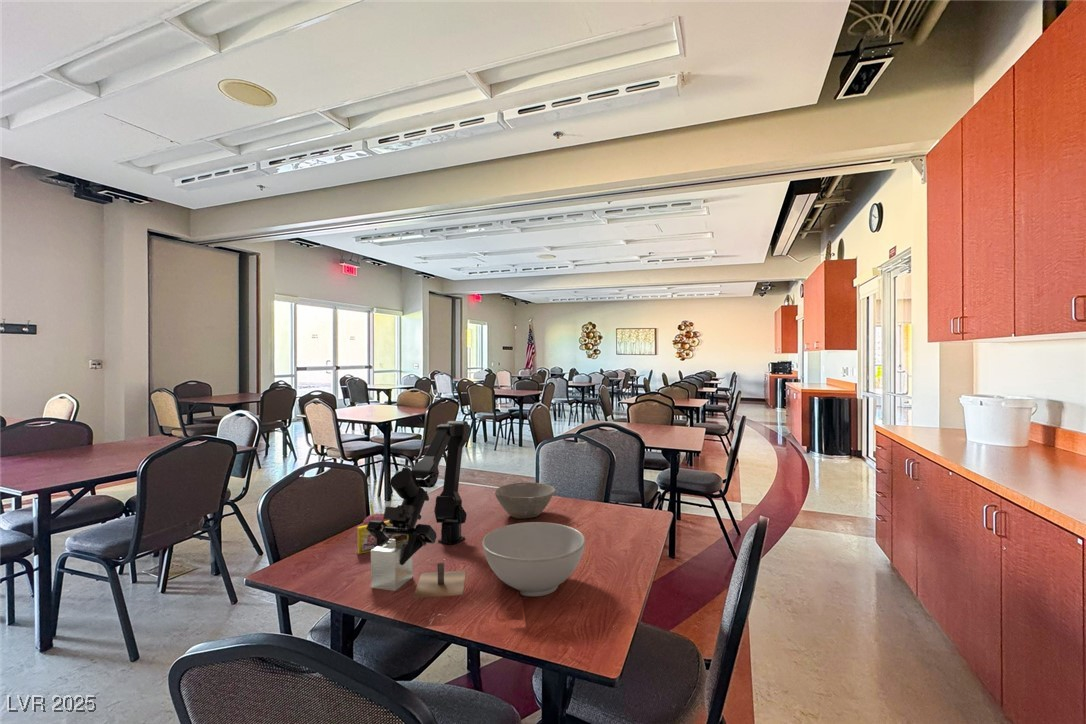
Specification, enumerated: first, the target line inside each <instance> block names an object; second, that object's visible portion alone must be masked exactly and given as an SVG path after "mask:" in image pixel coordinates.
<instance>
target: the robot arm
mask: <svg viewBox="0 0 1086 724" xmlns="http://www.w3.org/2000/svg"><path fill="white" fill-rule="evenodd" d="M446 422H447V423H440V424H438V425H437V426H436V429H435V433H434V436H433V438H432V440H431V442H430V444H429V446H428V448H427V450H426V452H425V454H424V456H423V457H422V459H420V460H419V461H417V462H416V463H415V464H414V466H413V467H412V469H411V468H410V467H402V468H401V471H398V472H396V473H395V474H394V475H392V477H391V478H390V482H389V483H390V486H391V488H392V489H393V490H394V491H395V492H396V494H397V495H398V496H399V498H401V499H403V500H402V502H401V504H400V505H399V504H398V505H397V506H385V508H384V513H383V514H384V517H383V519H389V523H390V524H393V526H387V525H386V524H385V523H384V521H378V520H372V521H370V522H369V523H368V525H367V527H366V529H367V530H368V531H369V532H370V533H371V534H372V535H373V536H374V537H375V538H376V539H377V546H378V545H380V544H381V543H383V542H385V541H386V540H388V538H387V537H388V536H389V534H397V535H407V536H408V543H407V546H406V548H405V551H404V553H403V556H402V559H401V562H400V564H401V565H404V564H405V562H406V561H407V560H408V559H409V558H410V557H411V556H412V557H413V556H414V554H416V552H417V551H419V550H420V549H421V548H422V547H424V546H427V544H432V545H433V544H435V543H436V540H437V532H436V531H435V529H434V528H433V527H432V526H431V525H430V524H426V523H425V524H422V523H418V524H417V522H418V520H421V519H422V515H421V512H422V509H423V507H424V504H425V502H429V501H430V497H429V495H428V491H427V490H425V489H424V488H426V489H427V488H428V489H430V488H434V487H435V485H436V484H437V482H438V479H439V475H440V472H439V465H440V462H441V459H442V458H443V455H444V453H445V452H446V449H447V454H446V461H445V471H444V478H443V479H444V480H443V488H442V492H441V493H440V494H439V495H437V496H436V497H435V506H434V510H433V511H434V517H435V521H436V522H435V523H437V524H439V523H441V529H440V535H441V537H440V539H438V540H437V542H438V543H443V544H447V545H456V544H457V543H460V542H461V541H463V540H465V539H466V536H464V535H463V536H462V525H463V524H466V521H467V512H466V511H465V509H464V508H463V505H462V504H463V500H462V498H461V496H460V493H459V483H460V475H461V468H462V467H461V465H462V456H463V448H464V446H465V445H466V443H467V442H468V441H469V437H470V434H471V424H468V421H467V420H448V421H446Z"/></svg>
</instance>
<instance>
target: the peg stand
mask: <svg viewBox="0 0 1086 724" xmlns="http://www.w3.org/2000/svg"><path fill="white" fill-rule="evenodd" d="M466 572H467V571H466V570H453V571H445V565H444V562H439V563H437V571H436V572H433V571H432V572H421V573H420V576H419V579H418V582H417V584H416V588H415V591H414V593H413V596H412V599H424V598H436V597H437V598H440V597H452V596H453V597H455V596H463V594H464V588H465V581H466V580H465V579H466Z"/></svg>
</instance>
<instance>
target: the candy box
mask: <svg viewBox="0 0 1086 724" xmlns="http://www.w3.org/2000/svg"><path fill="white" fill-rule="evenodd" d="M384 523H385V524H386V525H387V526H393V524H390V523H389V520H388V521H384ZM366 527H367V525H364V526H363V525H360V526H357V527H356V529H357V531H356V532H357V533H356V534H357V535H356V537H357V540H356V542H357V543H356V553H357V554H358V555H362V554H366V553H369V552H370V553H371V550H372V549H373V548H375V547H377V539H376V538H375V537H374V536H373V535H372V534H371V533H370V532H369V531H368V530H367V529H366ZM387 538H388V539H396V546H398V545H399V544H401V543H402V542H404V541H405V540H408V536H407V535H397V534H389V536H388V537H387Z"/></svg>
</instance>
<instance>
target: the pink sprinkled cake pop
mask: <svg viewBox="0 0 1086 724" xmlns="http://www.w3.org/2000/svg"><path fill="white" fill-rule="evenodd" d="M369 506H370V507H369V508H370V512H371V515H368V516H366V517H365V518H364V520H363V521H362V526H364V525H368V523H369V522H370V521H372V520H378V521H388V520H389V519H383V517H384V513H382V512H380V513H374V508H373V507H374V506H373V503H372V502H371V500H370V501H369Z"/></svg>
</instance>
